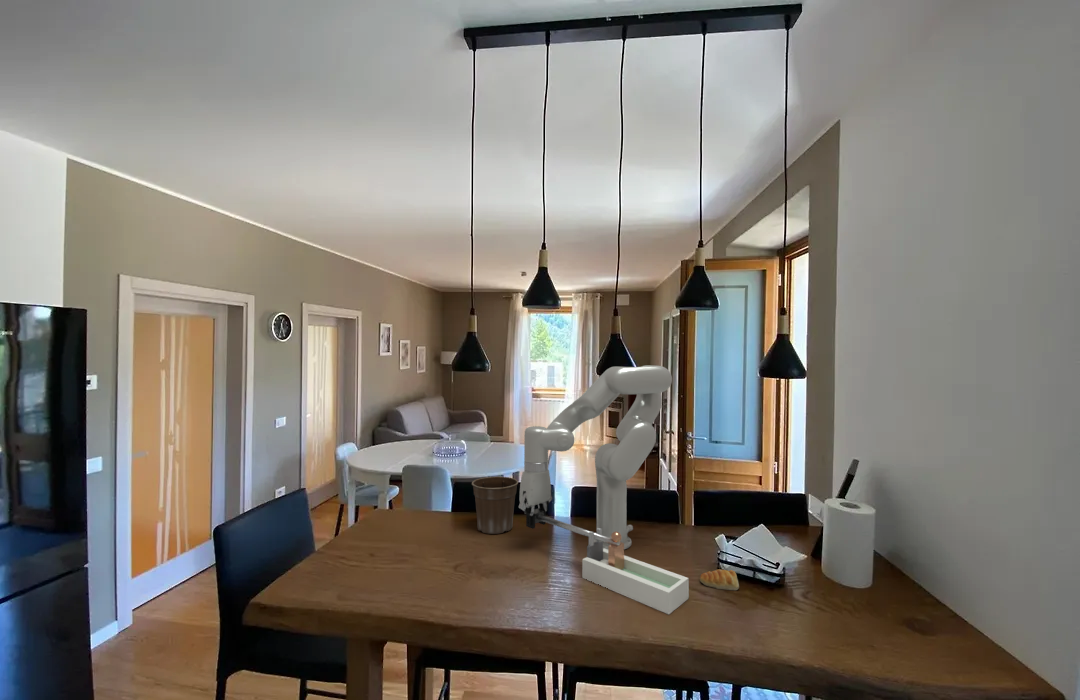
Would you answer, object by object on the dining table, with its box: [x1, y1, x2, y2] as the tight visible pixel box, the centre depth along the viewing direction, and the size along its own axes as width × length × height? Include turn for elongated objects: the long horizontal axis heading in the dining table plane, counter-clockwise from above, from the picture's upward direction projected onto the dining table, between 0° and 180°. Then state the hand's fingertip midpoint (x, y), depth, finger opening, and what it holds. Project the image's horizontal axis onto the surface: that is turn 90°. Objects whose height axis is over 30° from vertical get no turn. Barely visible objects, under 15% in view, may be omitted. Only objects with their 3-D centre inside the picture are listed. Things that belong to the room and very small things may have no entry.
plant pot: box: [471, 476, 519, 535], centre depth 160 cm, size 16×16×16 cm
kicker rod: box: [533, 508, 625, 570], centre depth 133 cm, size 4×33×10 cm, turn 46°
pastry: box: [699, 568, 740, 591], centre depth 121 cm, size 9×7×4 cm
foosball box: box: [581, 527, 690, 615], centre depth 119 cm, size 10×26×12 cm, turn 46°
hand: (535, 524), depth 143 cm, fingers closed on kicker rod, 4 cm apart
